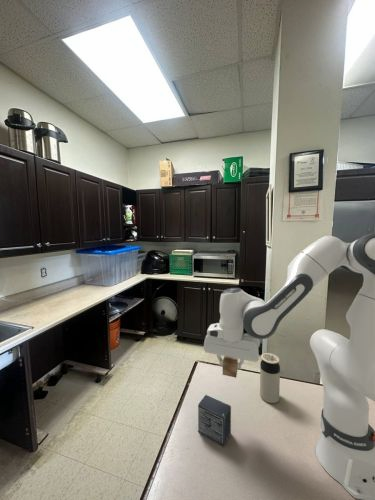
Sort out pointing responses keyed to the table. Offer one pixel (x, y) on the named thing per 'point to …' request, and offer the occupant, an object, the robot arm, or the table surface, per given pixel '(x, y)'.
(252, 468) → the table surface
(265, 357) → the travel mug
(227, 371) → the tan cube
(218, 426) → the small box
